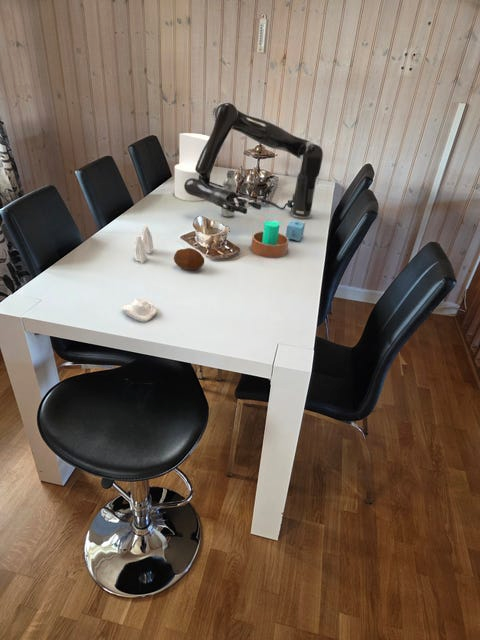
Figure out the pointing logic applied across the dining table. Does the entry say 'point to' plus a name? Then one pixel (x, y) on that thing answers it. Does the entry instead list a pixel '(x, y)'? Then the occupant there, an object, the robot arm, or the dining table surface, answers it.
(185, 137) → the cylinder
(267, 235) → the candle
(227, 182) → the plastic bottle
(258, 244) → the pot
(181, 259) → the potato
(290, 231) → the teapot
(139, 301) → the rose
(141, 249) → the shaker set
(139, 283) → the dining table surface
